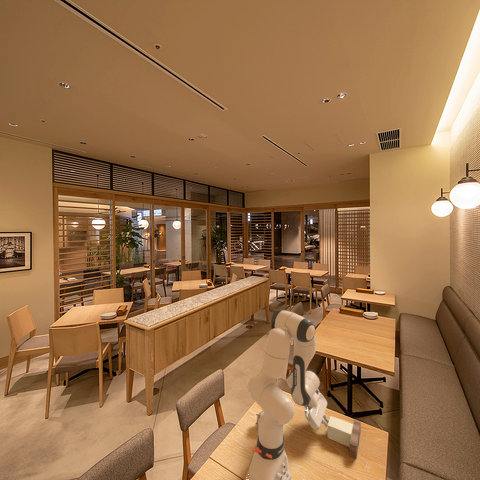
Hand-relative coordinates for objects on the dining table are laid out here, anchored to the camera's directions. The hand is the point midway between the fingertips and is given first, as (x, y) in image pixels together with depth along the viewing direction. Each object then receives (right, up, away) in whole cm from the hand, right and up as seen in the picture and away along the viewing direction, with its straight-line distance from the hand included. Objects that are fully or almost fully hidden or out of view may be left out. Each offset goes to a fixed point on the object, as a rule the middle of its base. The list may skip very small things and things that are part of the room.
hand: (328, 424), depth 129 cm
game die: (-33, -5, +5) cm, 34 cm away
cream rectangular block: (+5, -4, -3) cm, 7 cm away
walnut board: (+11, -4, -7) cm, 14 cm away
